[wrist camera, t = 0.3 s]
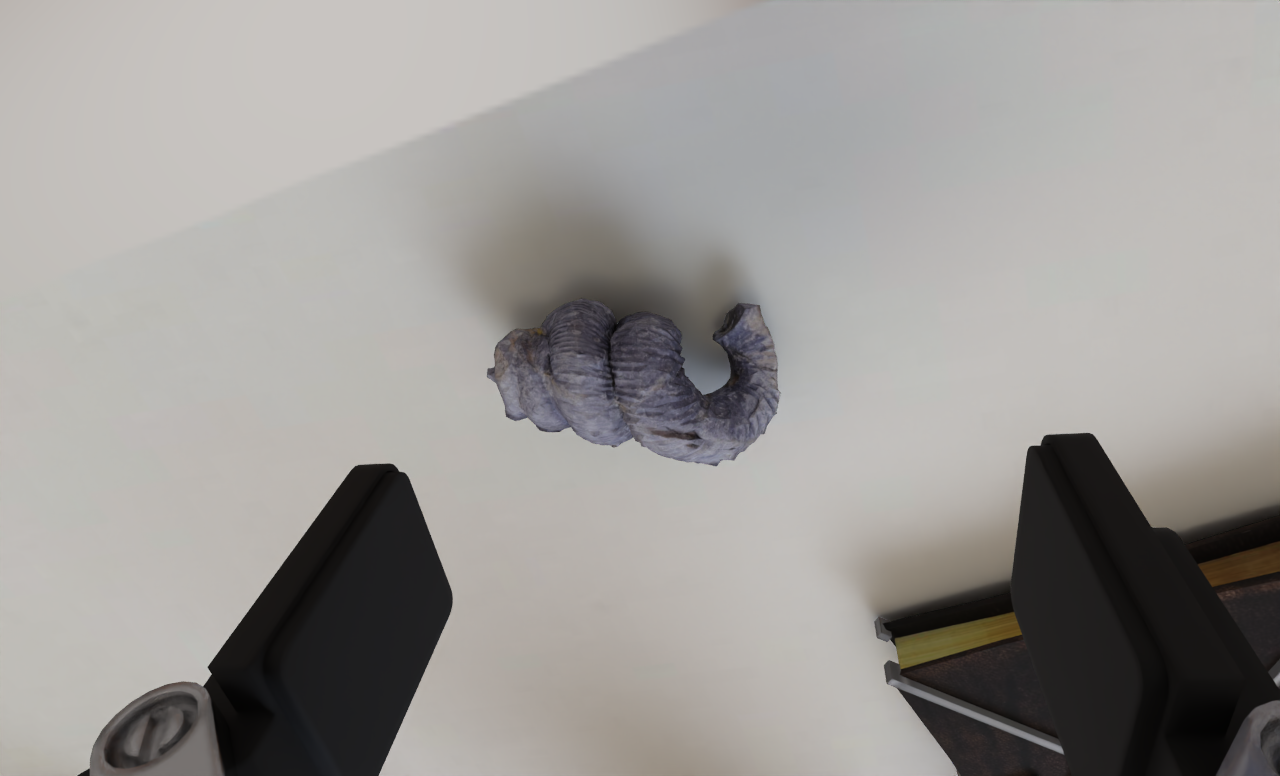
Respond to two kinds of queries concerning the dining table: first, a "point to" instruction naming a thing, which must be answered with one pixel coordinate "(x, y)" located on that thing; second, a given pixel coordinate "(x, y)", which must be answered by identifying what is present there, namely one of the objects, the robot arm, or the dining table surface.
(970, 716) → the book
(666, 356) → the seashell
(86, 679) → the dining table surface
